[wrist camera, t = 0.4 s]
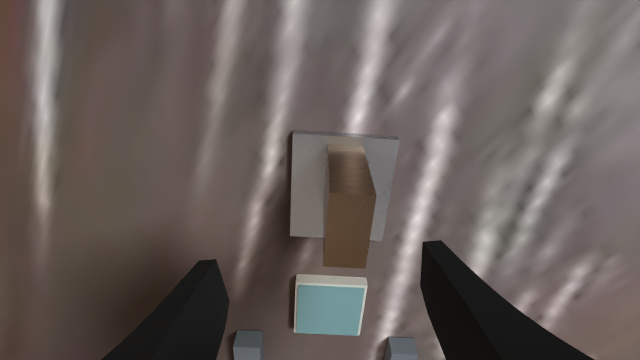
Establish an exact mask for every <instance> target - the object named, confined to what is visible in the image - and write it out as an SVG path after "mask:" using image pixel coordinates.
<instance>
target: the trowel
mask: <svg viewBox="0 0 640 360" xmlns="http://www.w3.org/2000/svg"><path fill="white" fill-rule="evenodd" d="M399 142H400V140H399V138H398V136H387V135H371V134H354V133H338V132H321V131H305V130H293V141H292V179H291V217H290V236H298V237H316V238H323V266H328V267H347V268H365V267H366V260H367V254H368V248H369V241H382V238H383V233H384V227H385V221H386V215H387V210H388V204H389V198H390V193H391V187H392V181H393V176H394V170H395V164H396V159H397V153H398V147H399Z"/></svg>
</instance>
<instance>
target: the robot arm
mask: <svg viewBox="0 0 640 360" xmlns="http://www.w3.org/2000/svg"><path fill="white" fill-rule="evenodd" d="M420 286H421V290H422V294H423V298H424V301H425V305H426V309H427V312H428V315H429V318H430V320H431V323H432V325H433V328H434V330H435V333H436V335H437V338H438V340H439V343H440V345H441V348H442V350H443V353H444V355H445V358H446V360H594V359H592V358H591V357H589V356H587V355H585V354H584V353H582V352H580V351H579V350H577V349H576V348H574V347H572V346H571V345H569V344H568V343H566V342H564V341H563V340H561V339H559V338H558V337H556V336H555V335H553V334H552V333H550V332H549V331H547V330H546V329H544V328H543V327H541V326H540V325H539V324H537V323H536V322H534V321H533V320H532V319H530V318H529V317H527V316H526V315H524V314H523V313H522V312H520V311H519V310H518V309H516V308H515V307H514V306H513V305H511V304H510V303H509V302H508V301H506V300H505V299H504V298H503V297H502V296H500V295H499V294H498V293H497V292H496V291H494V290H493V289H492V288H491V287H490V286H489V285H487V284H486V283H485V282H484V281H483V280H482V279H481V278H480V277H479V276H477V275H476V274H475V273H474V272H473V271H472V270H471V269H470V268H469V267H468V266H467V265H466V264H465V263H464V262H463V261H462V260H460V259H459V258H458V257H457V256H456V255H455V254H454V253H453V252H452V251H451V250H450V249H449V248H448V247H447V246H446V245H445V244H444V243H443V242H442V241H441V240H440V241H428V242H423V247H422V265H421V282H420ZM228 306H229V298H228V295H227V292H226V289H225V286H224V283H223V279H222V276H221V273H220V270H219V267H218V264H217V261H216V259H214V260H202V261H198V263H197V264H196V265H195V266H194V267H193V268H192V269H191V270H190V271H189V272H188V274H187V275H186V276H185V277H184V278H183V279H182V280H181V281H180V283H179V284H178V285H177V286H176V287H175V288H174V289H173V290H172V291H171V293H170V294H169V295H168V296H167V297H166V298H165V299H164V300H163V301H162V302H161V303H160V304H159V306H158V307H157V308H156V309H155V310H154V311H153V312H152V313H151V314H150V315H149V316H148V317H147V318H146V319H145V320H144V321H143V322H142V323H141V324H140V325H139V326H138V327H137V328H136V329H135V330H134V331H133V332H132V333H131V334H130V335H129V336H127V337H126V338H125V339H124V340H123V341H122V342H121V343H120V344H119V345H118V346H116V347H115V348H114V349H113V350H112V351H111V352H110V353H108V354H107V355H106V356H105V357H104V358H103V359H101V360H216V358H217V354H218V351H219V347H220V344H221V340H222V337H223V333H224V330H225V324H226V319H227V312H228Z"/></svg>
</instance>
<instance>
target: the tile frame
mask: <svg viewBox="0 0 640 360" xmlns="http://www.w3.org/2000/svg"><path fill="white" fill-rule="evenodd" d="M233 352H234V360H264V357H263V331H246V330H237V334H236V338H235V341H234V345H233ZM417 357H418V353H417V349H416V345H415V342H414V338H401V337H388V342H387V347H386V351H385V356H384V360H417Z"/></svg>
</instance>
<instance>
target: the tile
mask: <svg viewBox="0 0 640 360" xmlns="http://www.w3.org/2000/svg"><path fill="white" fill-rule="evenodd" d="M366 292H367V280H366V278H363V277H343V276H324V275H304V274H297V275H296V289H295V316H294V332H296V333H311V334H333V335H355V336H357V335H360V329H361V323H362V317H363V311H364V304H365V298H366Z"/></svg>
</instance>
